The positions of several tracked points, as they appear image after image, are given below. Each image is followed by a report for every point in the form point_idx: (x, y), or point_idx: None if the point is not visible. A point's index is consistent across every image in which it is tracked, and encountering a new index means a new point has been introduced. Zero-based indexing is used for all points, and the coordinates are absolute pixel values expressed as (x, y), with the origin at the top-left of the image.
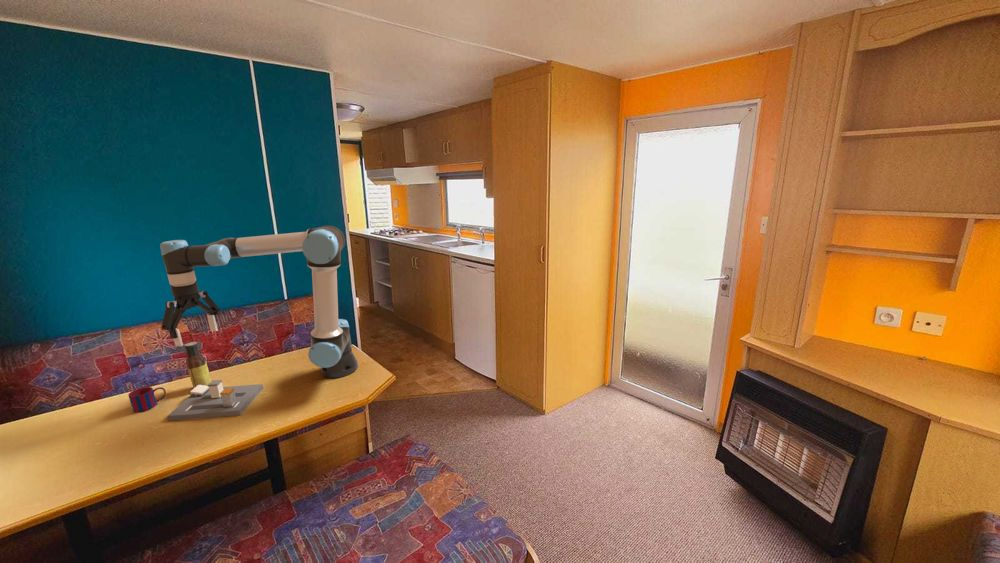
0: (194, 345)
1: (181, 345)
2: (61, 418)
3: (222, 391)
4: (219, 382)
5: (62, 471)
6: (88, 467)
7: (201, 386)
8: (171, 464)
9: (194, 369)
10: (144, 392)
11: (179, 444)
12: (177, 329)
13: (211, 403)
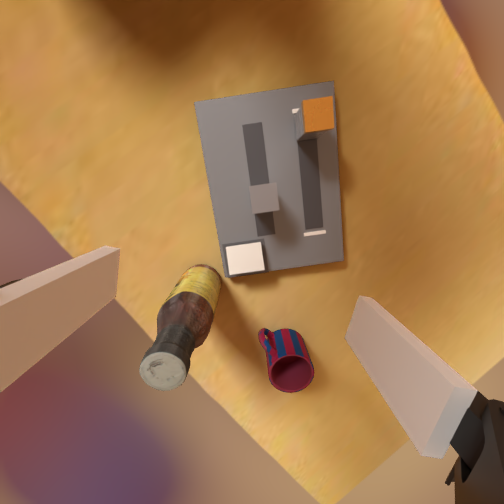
0: (169, 348)
1: (372, 299)
2: (315, 455)
3: (323, 127)
4: (261, 184)
5: (473, 319)
6: (471, 286)
7: (234, 262)
8: (498, 125)
9: (212, 303)
10: (272, 372)
11: (430, 161)
12: (468, 386)
13: (296, 189)
